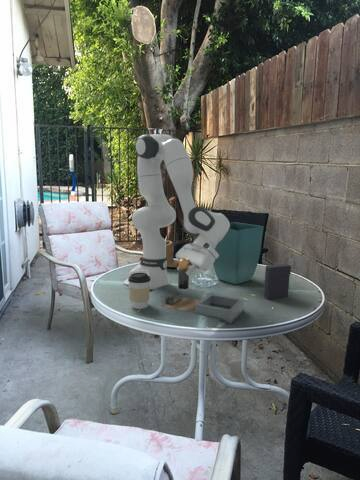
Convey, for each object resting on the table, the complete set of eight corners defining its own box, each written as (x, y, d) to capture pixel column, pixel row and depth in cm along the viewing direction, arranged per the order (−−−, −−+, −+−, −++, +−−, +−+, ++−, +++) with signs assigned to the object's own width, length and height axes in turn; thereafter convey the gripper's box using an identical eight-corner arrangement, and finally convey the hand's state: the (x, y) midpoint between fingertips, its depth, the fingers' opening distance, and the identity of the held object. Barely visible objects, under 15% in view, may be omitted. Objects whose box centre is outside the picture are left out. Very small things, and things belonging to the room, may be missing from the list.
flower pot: (206, 279, 212) (208, 225, 207) (232, 272, 226) (234, 221, 220) (235, 288, 198) (238, 230, 192) (261, 280, 211) (264, 226, 205)
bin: (195, 316, 161) (195, 304, 160) (209, 304, 175) (210, 293, 174) (231, 323, 155) (231, 311, 154) (243, 311, 168) (244, 299, 167)
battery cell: (176, 288, 169) (177, 258, 167) (180, 285, 173) (181, 255, 171) (185, 289, 168) (186, 259, 165) (190, 286, 171) (191, 257, 169)
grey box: (283, 294, 189) (285, 263, 186) (289, 297, 185) (291, 265, 182) (262, 297, 185) (264, 265, 182) (268, 300, 181) (270, 267, 179)
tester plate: (161, 309, 169) (161, 298, 168) (176, 299, 181) (176, 289, 180) (192, 315, 163) (192, 304, 162) (206, 304, 175) (206, 294, 174)
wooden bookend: (151, 267, 233) (151, 242, 230) (159, 263, 243) (159, 238, 241) (176, 270, 227) (176, 244, 224) (183, 265, 238) (184, 240, 235)
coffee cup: (124, 308, 169) (123, 273, 166) (141, 303, 175) (140, 269, 172) (137, 314, 162) (137, 278, 160) (155, 309, 169) (155, 274, 166)
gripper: (184, 237, 179) (164, 261, 176) (213, 247, 162) (192, 274, 159) (192, 246, 182) (173, 270, 179) (221, 256, 165) (201, 283, 162)
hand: (182, 272), depth 169 cm, fingers closed on battery cell, 4 cm apart
